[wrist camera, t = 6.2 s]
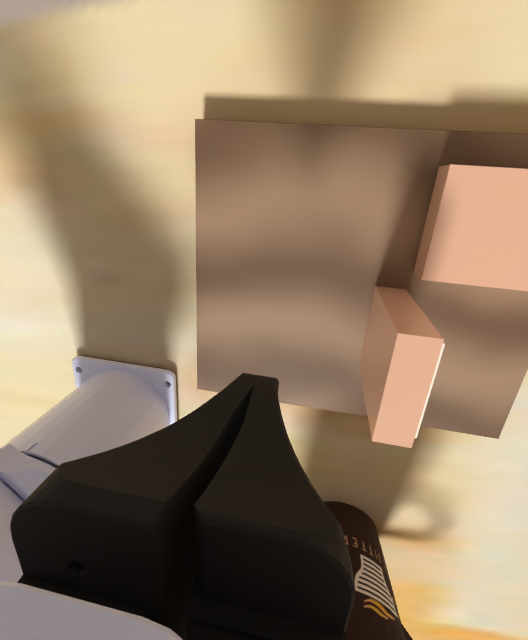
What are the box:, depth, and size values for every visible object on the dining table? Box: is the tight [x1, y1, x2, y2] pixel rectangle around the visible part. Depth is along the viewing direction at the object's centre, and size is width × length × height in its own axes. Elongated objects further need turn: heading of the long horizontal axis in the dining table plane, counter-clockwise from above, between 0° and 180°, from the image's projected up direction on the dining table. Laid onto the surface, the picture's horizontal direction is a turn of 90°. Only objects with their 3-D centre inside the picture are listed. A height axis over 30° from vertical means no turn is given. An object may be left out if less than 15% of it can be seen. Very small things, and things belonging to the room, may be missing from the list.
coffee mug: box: [324, 502, 413, 640], centre depth 23 cm, size 12×9×10 cm
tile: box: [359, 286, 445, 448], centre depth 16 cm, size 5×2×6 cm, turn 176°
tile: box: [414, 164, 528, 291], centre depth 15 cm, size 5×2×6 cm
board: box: [195, 119, 528, 439], centre depth 19 cm, size 16×19×1 cm
